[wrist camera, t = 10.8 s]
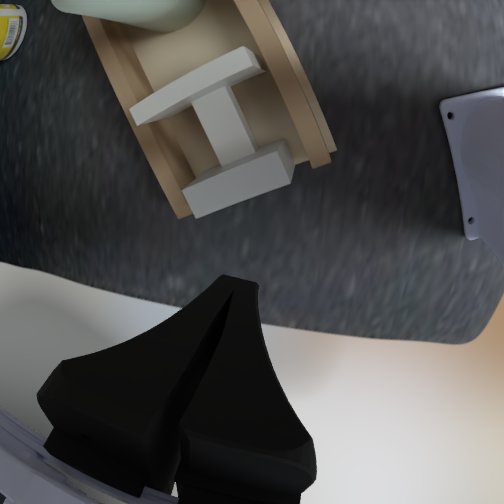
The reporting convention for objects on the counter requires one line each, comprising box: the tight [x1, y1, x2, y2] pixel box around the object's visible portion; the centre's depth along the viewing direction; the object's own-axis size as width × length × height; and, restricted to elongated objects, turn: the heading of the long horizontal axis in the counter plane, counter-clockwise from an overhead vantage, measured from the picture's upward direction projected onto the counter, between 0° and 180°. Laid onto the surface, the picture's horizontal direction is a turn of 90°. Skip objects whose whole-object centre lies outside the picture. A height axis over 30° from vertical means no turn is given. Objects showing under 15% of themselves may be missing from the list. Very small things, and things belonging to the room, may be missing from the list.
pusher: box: [129, 46, 295, 219], centre depth 15 cm, size 6×6×4 cm
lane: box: [82, 0, 337, 220], centre depth 13 cm, size 22×10×4 cm, turn 24°
